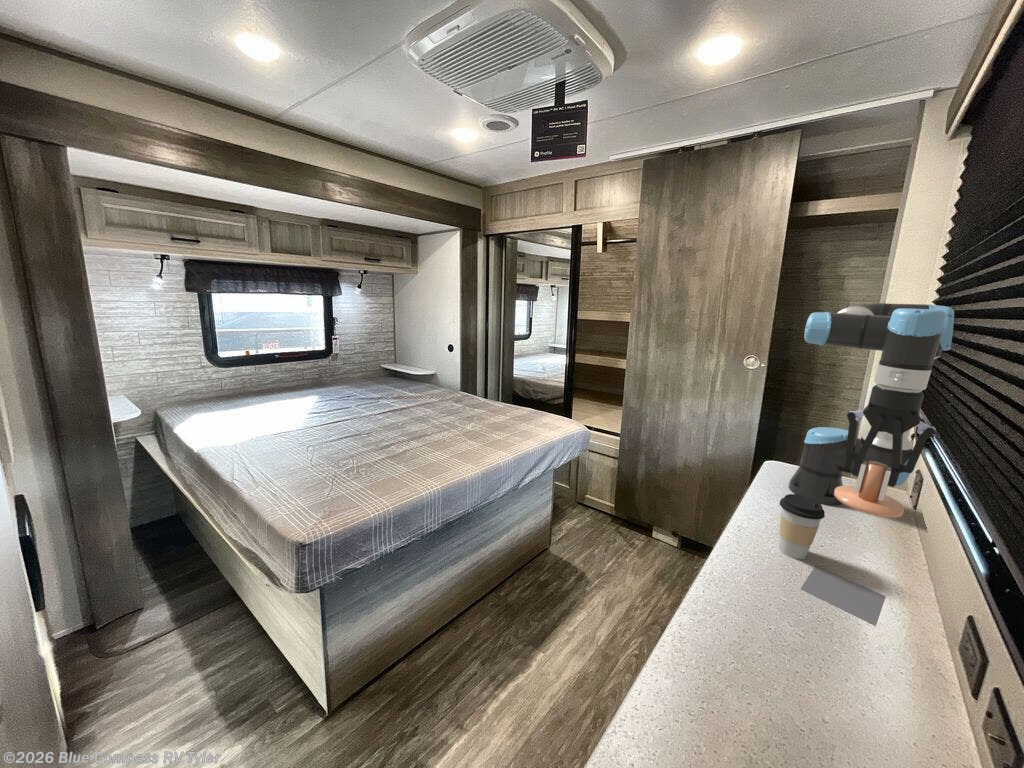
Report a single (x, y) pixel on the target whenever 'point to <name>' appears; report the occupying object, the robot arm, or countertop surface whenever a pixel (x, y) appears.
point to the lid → (870, 494)
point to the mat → (844, 594)
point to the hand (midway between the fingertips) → (869, 494)
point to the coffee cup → (798, 524)
